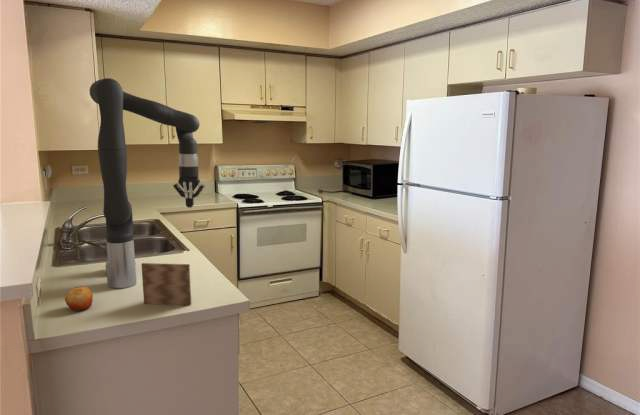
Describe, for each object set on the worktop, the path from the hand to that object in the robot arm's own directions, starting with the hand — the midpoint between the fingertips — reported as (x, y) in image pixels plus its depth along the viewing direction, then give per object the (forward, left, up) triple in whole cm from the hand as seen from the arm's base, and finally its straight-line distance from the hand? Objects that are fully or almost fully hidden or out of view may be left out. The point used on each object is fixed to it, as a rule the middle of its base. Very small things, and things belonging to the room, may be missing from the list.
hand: (189, 207), depth 184 cm
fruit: (-23, -43, -27) cm, 56 cm away
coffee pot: (-33, -7, -27) cm, 43 cm away
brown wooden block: (+4, -35, -27) cm, 44 cm away
